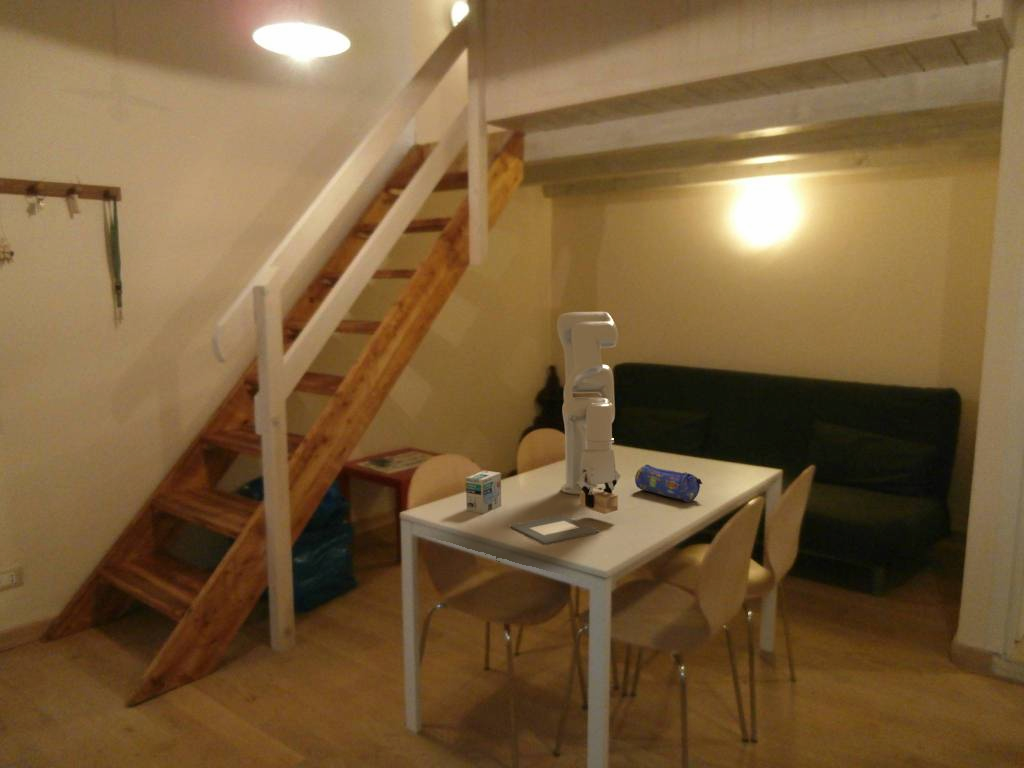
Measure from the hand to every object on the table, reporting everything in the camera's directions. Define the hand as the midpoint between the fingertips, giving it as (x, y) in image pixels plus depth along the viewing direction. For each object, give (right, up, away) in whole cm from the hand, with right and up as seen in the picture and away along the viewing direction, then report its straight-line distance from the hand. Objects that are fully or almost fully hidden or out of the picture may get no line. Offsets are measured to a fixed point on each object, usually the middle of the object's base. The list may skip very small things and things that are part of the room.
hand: (598, 504), depth 218 cm
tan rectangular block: (0, -1, 0) cm, 1 cm away
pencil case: (+25, -1, +24) cm, 35 cm away
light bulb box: (-34, -4, +14) cm, 37 cm away
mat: (-14, -6, -8) cm, 17 cm away
